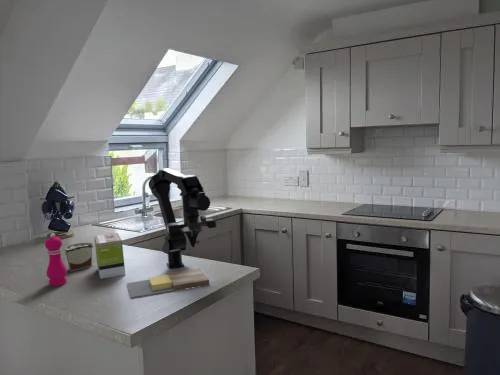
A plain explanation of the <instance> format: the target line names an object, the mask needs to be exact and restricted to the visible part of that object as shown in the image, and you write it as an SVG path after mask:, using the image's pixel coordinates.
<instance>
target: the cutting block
mask: <svg viewBox="0 0 500 375" xmlns="http://www.w3.org/2000/svg"><path fill="white" fill-rule="evenodd" d="M166 275H168V277H169V278H170V280H171V282H172V287H173V289H174V292H177V291H181V290H180V289H183V290H187V289H186V288H189V289H193V288H192V287H195V288H199V287H198V286H201V287H205V285H206V286H210V279H209V278H208V277H207V275H206V274H205V273H204V272H203V271H202V269H201V268H200V267H199V268H194V269H193V268H192V269H188V270H187V269H186V270H181V271H175V272H168V273H166ZM176 290H177V291H176Z"/></svg>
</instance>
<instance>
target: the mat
mask: <svg viewBox="0 0 500 375" xmlns="http://www.w3.org/2000/svg"><path fill="white" fill-rule="evenodd" d="M126 286H127V288H128V294H129V296H130V297H129V298H130V299H131V300H133V299H137V298H144V297H150V296H156V295H162V294H167V293H168V294H169V293H173V291H174V289H173V287H171V288H165V289H159V290H152V288H151V286H150V284H149V279H146V280H138V281H132V282H127V283H126ZM174 292H175V291H174Z"/></svg>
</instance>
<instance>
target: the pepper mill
mask: <svg viewBox="0 0 500 375" xmlns="http://www.w3.org/2000/svg"><path fill="white" fill-rule="evenodd" d="M62 245H63V241H62V239H61V238H60V237H57V236H56V234H55V233H53V232H52V233H50V234H49V238H47V239H46V240H45V242H44V246H45V248H46V249H47V251H46V252H47V255H48V257H49V260H48V261H49V262H48V266H47V268H46V277H47V278H48V279H49V280H48V285H49V286H50V287H58V286H62V285H64V284H66V283H67V277H66V275H67V273H68V270H67V267H66V265H65V263H64V262H63V260H62V254H61V253H62V252H63V251H62V248H61V247H62Z"/></svg>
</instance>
